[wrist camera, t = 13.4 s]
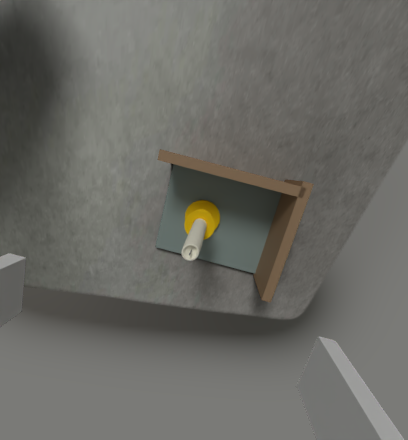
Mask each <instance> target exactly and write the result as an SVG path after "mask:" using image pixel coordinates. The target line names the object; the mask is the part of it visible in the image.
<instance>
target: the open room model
mask: <svg viewBox="0 0 408 440" xmlns="http://www.w3.org/2000/svg"><path fill="white" fill-rule="evenodd" d="M158 160H160V161H164V162H168V163H171V164H173V169H172V173H171V178H170V182H169V187H168V192H167V196H166V201H165V205H164V210H163V214H162V219H161V223H160V228H159V232H158V237H157V242H156V246H155V247H157V248H161V249H165V250H168V251H172V252H176V253H180V254H182V253H181V252H182V249H183V246H184V243H185V241H186V239H187V236H188V234H187V233H186V231H185V227H184V223H185V212H186V210H187V208H188V207H189V206H190V205H191V204H192V203H193V202H195V201H198V200H207V201H210V202H212V203H213V204H214V205H215V206H216V207H217V208H218V210H219V213H220V222H219V225H218V227H217V228H216V229H215V230H214V232H213V234H212V235H211V236H210V237H209V238H207V239H205V240H203V243H202V247H201V250H200V253H199V255H198V257H197V258H198V259H202V260H206V261H210V262H213V263H217V264H221V265H225V266H228V267H232V268H236V269H239V270H243V271H247V272H251V273H254V275H253V276H254V279H255V282H256V285H257V288H258V291H259V294H260V297H261V300H263V301H267V302H271V300H272V298H273V295H274V292H275V289H276V287H277V284H278V281H279V278H280V276H281V273H282V270H283V267H284V265H285V262H286V259H287V256H288V254H289V251H290V248H291V245H292V243H293V240H294V237H295V234H296V232H297V229H298V226H299V223H300V221H301V218H302V215H303V212H304V210H305V207H306V204H307V201H308V199H309V196H310V193H311V190H312V188H313V185H314V184H311V183H307V182H304V181H294V180H285V182H282V181H278V180H274V179H271V178H267V177H263V176H259V175H255V174H252V173H248V172H244V171H240V170H236V169H233V168H229V167H225V166H221V165H217V164H214V163H210V162H206V161H202V160H198V159H195V158H191V157H187V156H183V155H179V154H176V153H172V152H168V151H164V150H161V149H160V151H159V156H158Z"/></svg>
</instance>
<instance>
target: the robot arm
mask: <svg viewBox="0 0 408 440" xmlns="http://www.w3.org/2000/svg"><path fill="white" fill-rule="evenodd" d="M25 266H26V258H25V257H22V256H18V255H14V254H10V253H9V254H6V255H3V256H1V257H0V327H1V326H2V325H3V324H5V323H7V322H8V321H9V320H11V319H12V318H14V317H15V316H16V315H18V314H19V313H21V312H22V302H23V290H24V278H25ZM297 389H298V391H299V394H300V396H301V399H302V402H303V405H304V408H305V410H306V413H307V416H308V419H309V421H310V424H311V427H312V429H313V432H314V435H315V438H316V440H404V439H403V437H402V436H401V434H400V433H399V432H398V430H397V429H396V427H395V426H394V424H393V423H392V421H391V420H390V419H389V417H388V416H387V414H386V413H385V411H384V410H383V408H382V407H381V406H380V404H379V403H378V401H377V400H376V398H375V397H374V395H373V394H372V393H371V391H370V390H369V388H368V387H367V385H366V384H365V383H364V381H363V380H362V378H361V377H360V375H359V374H358V372H357V371H356V370H355V368H354V367H353V365H352V364H351V362H350V361H349V360H348V358H347V357H346V355H345V354H344V352H343V351H342V350H341V348H340V347H339V345H338V344H337V342H336V341H335V340H331V339H327V338H323V337H319V336H318V338H317V340H316V342H315V345H314V347H313V349H312V352H311V354H310V357H309V359H308V361H307V363H306V366H305V368H304V370H303V372H302V375H301V377H300V379H299V381H298V384H297Z"/></svg>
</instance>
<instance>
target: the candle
mask: <svg viewBox="0 0 408 440" xmlns="http://www.w3.org/2000/svg"><path fill="white" fill-rule="evenodd" d="M219 222H220V213H219V210H218V208H217V207H216V206H215V205H214V204H213V203H212V202H210V201H207V200H198V201H195V202H193V203H192V204H191V205H190V206H189V207H188V208H187V210H186V212H185V223H184V227H185V231H186V233H187V234H188V236H187V239H186V241H185V243H184V246H183V249H182V252H181V253H182V256H183V258H184V259H186V260H188V261H192V260H195V259H196V258H197V257H198V255H199V253H200V250H201V247H202V243H203V240H205V239H207V238H209V237H210V236H211V235H212V234H213V232H214V230H215V229H216V228H217V227H218V225H219Z"/></svg>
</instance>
